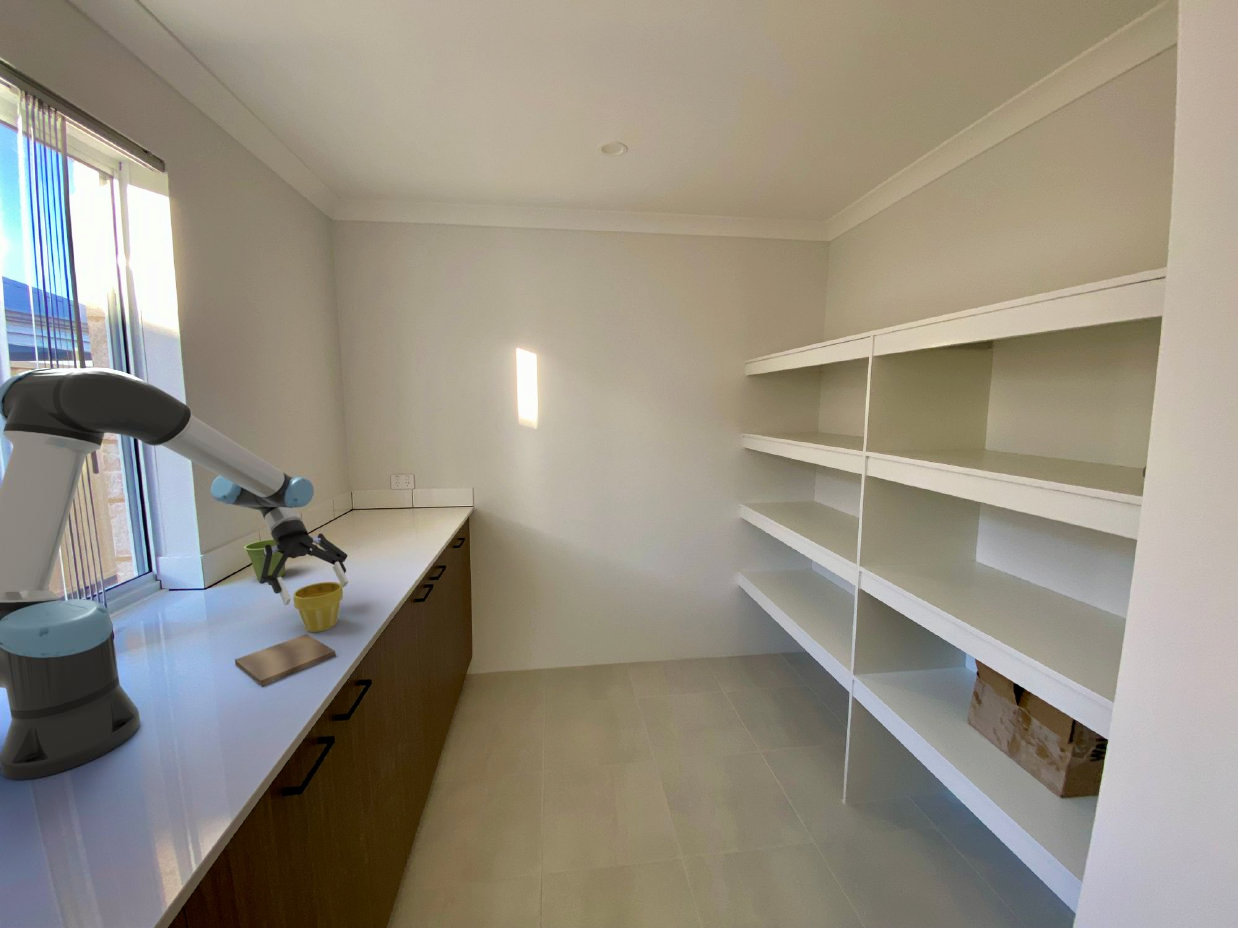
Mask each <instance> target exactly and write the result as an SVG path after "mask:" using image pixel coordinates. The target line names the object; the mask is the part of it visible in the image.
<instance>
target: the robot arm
mask: <svg viewBox="0 0 1238 928" xmlns="http://www.w3.org/2000/svg"><path fill="white" fill-rule="evenodd" d="M0 415H1V418H2V420H3V421H4V422H5V424H4V428H3V431H2V435H3V436H4V437H5V438H6V439H7V440H8V441H9V442H10V443H11V444H12V446H13V447H12V449H11V453H10V455H9V459H8V461H7V465H6V469H5V472H4V475H3V476H2V477H3V478H2V481H1V482H0V688H2V689H3V688H4V689H6V695H7V700H8V705H9V711H10V716H11V717H10V718H11V721H10V725H9V727H8V731H7V734H6V737H5V740H4V743H3V746H2V749H1V752H0V770H1V774H2V776H3V777H4V778H6V779H9V780H29V779H31V780H32V779H37V778H41V777H42V778H43V777H47V776H52V775H54V774H57V773H58V774H59V773H61V772H65V771H67V770H71V769H73V768H76V767H78V766H81V765H83V764H85V763H88V762H91V761H93V760H95V759H97V758H99V757H101V756H103V755H105V754H107V753H108V752H111V751H112V750H114V749H116V748H117V747H119V746H120V745H121V744H124V742H126V741H128V740H129V739H130V738H131V737H132V736H133V735H134V734H135V733H136V732H137V730H138V729H139V727H140V725H141V719H140V712H139V710H138V709H139V708H138V707H137V706H136V705H135V703H134V702H133V700H132V699H131V697H130V696H129V695H128V694H127V692H125V690H124V688H123V687H122V686H121V684H120V679H119V678H120V677H119V671H118V663H117V657H116V655H117V654H116V649H115V643H114V636H113V629H114V624H113V622H112V619H111V616H110V613H109V610H108V608H107V607H106V606H105V605H104V604H103V603H101V602H99V601H97V600H96V601H95V600H91V599H82V598H81V599H80V598H72V599H67V600H61V599H60V600H59V596H58V595H57V594H56V593H55V592H54V591H53V590H52V589H50V584H51V580H52V576H53V573H54V571H55V566H56V562H57V558H58V554H59V552H60V549H61V544H62V540H63V539H64V538H63V537H64V534H65V530H66V527H67V524H68V520H69V516H70V512H71V509H72V506H73V503H74V498H75V495H76V493H77V488H78V484H79V482H80V478H81V474H82V470H83V467H84V463H85V460H86V457H87V456H88V455H89V454H91V453H93V452H95V451H98V450H100V449H101V447H102V443H103V440H104V437H105V434H107V433H108V434H116V435H119V436H125V437H130V438H133V439H137V440H139V441H140V442H142V443H144V444H146V445H149V446H153V447H158V446H163V447H165V448H166V449H169V450H170V451H172V452H174V453H175V454H178V455H180V456H181V457H183V458H185V459H188V460H189V461H192V462H193V463H194V464H197V465H198V466H200V467H203V468H204V469H206V470H208V471H210V472H212V473H214V474H216V475H218V476H217V477H216V478H215V479H214V480H213V482H212V484H211V487H210V495H211V496H212V498H213V499H214V500H215V501H216V502H219V503H220V502H221V503H222V504H225V505H232V506H237V507H242V508H248V509H252V510H257V511H259V512H260V513H261V515H262V517H263V519H264V522H265V524H266V526H267V528H268V530H269V532H270V534H271V537H272V539H274V542H275V544H276V546H271V545H266V546H265V548H264V551H263V553H264V557H265V559H264V563H263V568H262V572H261V576H260V580H258V582H259V584H261V585H263V584H268V586H271V588H272V591H273V592H274V594H279V595H280V598H281V600H282V602H283V604H284V606H287V605H289V604H290V602H291V600H292V597H291V595H290V593H289V591H288V589H287V587H286V585H285V581H284V580H283V578H282V576H281V577H278V575H279V573H280V571H281V569H282V568H283V566H284V564H285V565H286V563H287V561H288V559H289V558H291V559H297V558H299V557H305V556H306V555H308V556H310V557H316V558H317V559H319V560H321V561H324V562H327V563H328V564H331V565H333V566H332V569H333V571H334V574H335V575H336V577H337V579H338V581H339V583H340V584H341V585H342V589H343V588H345V587H346V586H347V584H348V583H349V579H348V577H347V576H346V573H347V568H346V566H345V564H344V563H345V561H346V560H347V558H348V556H349V555H348V554H347V553H346V552H344V551H343V550H341V548H339V547H337V546H336V545H335V544H334V543H333V542H331V541H329V540H328V539H327V538H326V537H325V535H324V534H323V533H321V532H320V533H318V534H317V535H316V536H313V537H312V536H310V535H309V532H308V530H307V528H306V525H305V524H304V522H303V520H302V517H301V515H300V513H299V511H298V509H297V508H303V507H306V506H307V505H309V504H310V503H311V502H312V499H313V497H314V492H315V489H314V485H313V483H312V482H311V481H310V480H309V479H308V478H305V477H299V476H290V475H289V474H287V473H285V472H284V471H282V470H280V469H278V468H277V467H276V466H274V465H272V464H271V463H269V462H267V461H266V460H264V459H263V458H262V457H259V456H258V455H256V454H255V453H253V452H251V451H250V450H248V449H247V448H246V447H244V446H242V445H240V444H238V443H237V442H235V441H234V440H233V439H231V438H229V437H227V436H226V435H224V434H223V433H221V432H219V431H218V430H216V429H215V428H213V427H212V426H210V425H209V424H207V423H206V422H204V421H202V420H200V419H199V418H197V417H196V416H194V415H193V410H192V409H191V407H190V406H188V405H187V404H185V403H183V402H182V401H180V400H179V399H177V398H176V397H175V396H173V395H171V394H170V393H167V392H166V391H164V390H162V389H160V388H159V387H157V386H155V385H153V384H151V383H149V382H147V381H146V380H143V379H141V378H138V377H137V376H134V375H132V374H129V373H126V372H123V371H120V370H115V369H111V368H105V367H90V368H89V367H88V368H60V367H44V368H38V369H33V370H27V371H23V372H20V373H17V374H15V375H13V376H11V377H10V378H9V377H8V379H7V380H5V381H4V382H3V383H2V384H1V385H0ZM314 543H315V544H314ZM275 551H278V552H279V553H281V554H283V556H282V557H281V559H280V561H279V563H278V565H277V566H276V568H275V570H274V572H273V573H272V575H268V572H269V567H270V563H271V558H272V555H273V554H274V553H275ZM277 577H278V578H277Z"/></svg>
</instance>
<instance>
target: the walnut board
mask: <svg viewBox="0 0 1238 928" xmlns="http://www.w3.org/2000/svg"><path fill="white" fill-rule="evenodd" d="M333 657H336V650H334V649H333V648H331V647H329V646H328V645H326V644H324V643H323V642H321V641H319V640H318V639H317V638H314V637H312V636H311V635H310V634H308V633H304V634H302V635H299V636H296V637H294V638H292V639H289V640H288V639H287V640H286V641H283V642H280V643H277V644H274V645H271V646H269V647H267V648H264V649H263V648H262V649H261V650H258V651H255V652H252V653H249V654H247V655H244V656H241V657H239V658H236V659H234V663H235V666H236V667H237V668H238V669H240V670H241V671H242V672H243V673H245V674H246V675H247V676H248V677H249V678H251V679H252V680H253V681H254V682H255V683H257V684H258V685H259V686H260V687H264V686H266V685H269V684H270V683H271V684H272V682H275V681H278V680H280V679H282V678H285V677H287V676H290V675H292V674H295V673H297V672H299V671H300V672H301V671H302V670H304V669H306V668H309V667H312V666H314V665H317V664H319V663H322V662H324V661H326V660H329V659H331V658H333Z"/></svg>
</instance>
